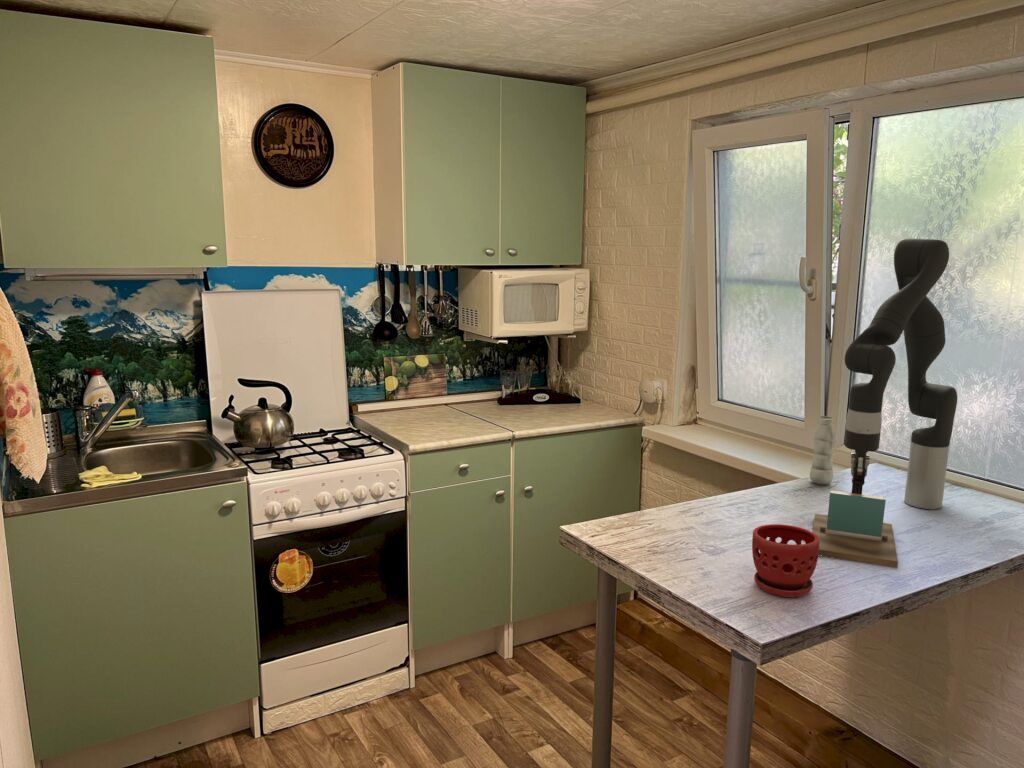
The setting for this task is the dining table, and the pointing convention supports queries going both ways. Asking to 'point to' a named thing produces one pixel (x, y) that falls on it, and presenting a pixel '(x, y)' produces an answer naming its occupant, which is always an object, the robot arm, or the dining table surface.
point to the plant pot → (784, 559)
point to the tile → (856, 513)
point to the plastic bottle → (823, 452)
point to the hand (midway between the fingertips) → (856, 498)
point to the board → (856, 544)
